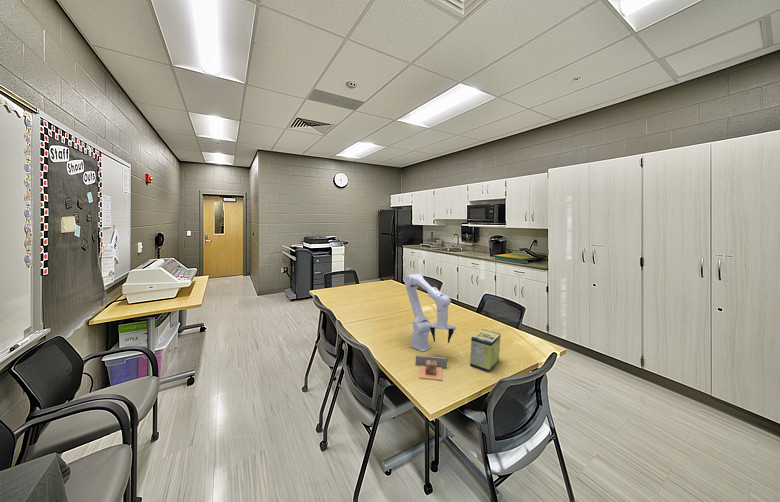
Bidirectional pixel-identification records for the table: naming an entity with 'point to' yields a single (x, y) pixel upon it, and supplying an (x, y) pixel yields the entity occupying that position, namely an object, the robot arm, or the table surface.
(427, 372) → the walnut cube
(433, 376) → the terracotta tile
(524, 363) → the table surface
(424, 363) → the slate screen
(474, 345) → the protein box
